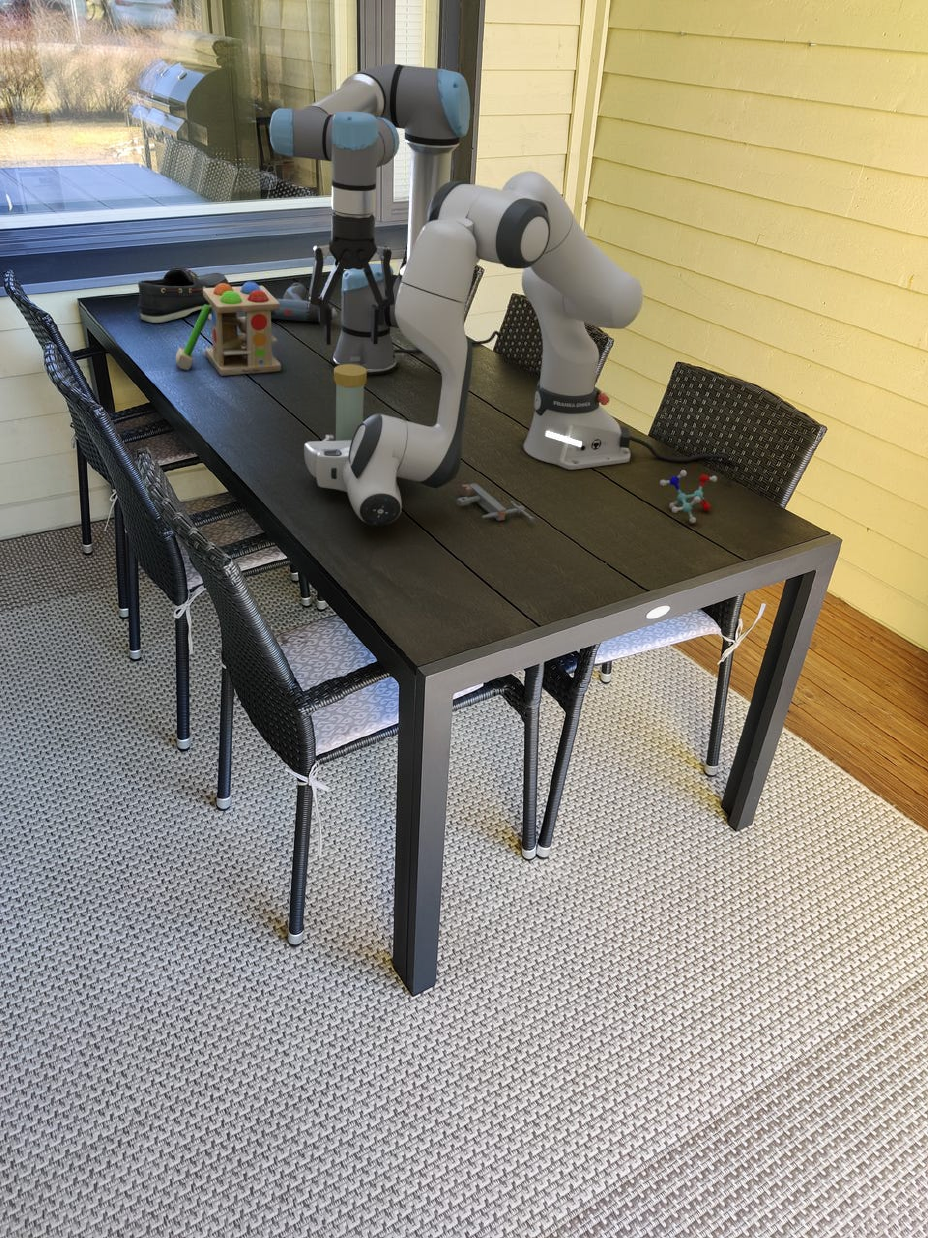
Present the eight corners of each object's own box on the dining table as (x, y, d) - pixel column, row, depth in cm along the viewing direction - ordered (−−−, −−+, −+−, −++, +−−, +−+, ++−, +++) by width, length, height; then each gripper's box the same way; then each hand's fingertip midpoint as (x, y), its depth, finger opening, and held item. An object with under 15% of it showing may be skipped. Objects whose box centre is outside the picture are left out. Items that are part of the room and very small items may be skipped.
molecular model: (721, 517, 179) (705, 464, 177) (670, 531, 182) (655, 480, 181) (726, 508, 189) (711, 458, 188) (678, 522, 193) (663, 473, 191)
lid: (347, 372, 190) (348, 361, 189) (373, 381, 187) (373, 369, 186) (327, 380, 186) (327, 369, 184) (352, 389, 183) (352, 378, 182)
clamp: (448, 487, 182) (493, 478, 187) (447, 497, 184) (492, 489, 188) (489, 523, 172) (536, 514, 177) (488, 534, 173) (535, 524, 178)
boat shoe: (248, 301, 272) (246, 262, 267) (158, 325, 248) (153, 283, 243) (214, 293, 278) (211, 255, 272) (123, 315, 254) (117, 274, 248)
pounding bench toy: (183, 379, 220) (176, 299, 210) (169, 357, 231) (162, 280, 221) (282, 371, 230) (280, 294, 220) (264, 350, 240) (262, 276, 230)
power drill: (344, 304, 276) (335, 327, 259) (277, 298, 275) (264, 321, 258) (344, 285, 273) (335, 306, 256) (277, 279, 272) (264, 300, 255)
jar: (347, 448, 198) (348, 365, 188) (367, 456, 196) (369, 372, 186) (330, 456, 194) (330, 371, 185) (350, 464, 192) (352, 379, 182)
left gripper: (407, 209, 175) (401, 334, 188) (289, 205, 170) (291, 335, 182) (417, 219, 169) (410, 348, 182) (295, 216, 164) (297, 349, 177)
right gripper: (422, 451, 178) (407, 420, 189) (309, 455, 173) (300, 423, 184) (420, 483, 182) (405, 451, 193) (309, 487, 177) (301, 454, 188)
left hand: (350, 341), depth 182 cm, fingers open, 8 cm apart
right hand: (353, 437), depth 188 cm, fingers open, 8 cm apart
